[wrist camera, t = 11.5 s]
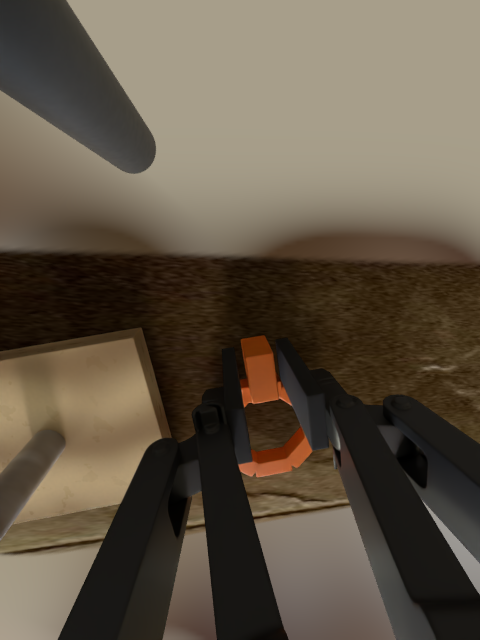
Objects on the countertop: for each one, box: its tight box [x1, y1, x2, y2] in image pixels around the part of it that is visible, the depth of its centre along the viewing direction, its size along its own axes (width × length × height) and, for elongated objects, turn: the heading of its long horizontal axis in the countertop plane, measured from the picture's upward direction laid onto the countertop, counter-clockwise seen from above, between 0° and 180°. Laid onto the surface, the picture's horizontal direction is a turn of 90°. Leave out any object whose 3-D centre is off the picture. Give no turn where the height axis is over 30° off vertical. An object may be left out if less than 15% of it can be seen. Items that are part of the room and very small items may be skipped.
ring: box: [239, 335, 312, 477], centre depth 19 cm, size 10×7×3 cm
